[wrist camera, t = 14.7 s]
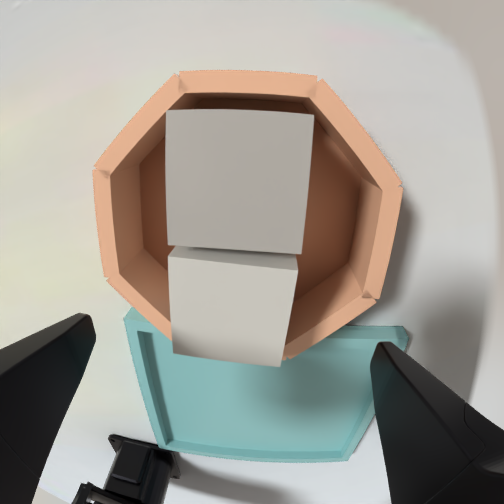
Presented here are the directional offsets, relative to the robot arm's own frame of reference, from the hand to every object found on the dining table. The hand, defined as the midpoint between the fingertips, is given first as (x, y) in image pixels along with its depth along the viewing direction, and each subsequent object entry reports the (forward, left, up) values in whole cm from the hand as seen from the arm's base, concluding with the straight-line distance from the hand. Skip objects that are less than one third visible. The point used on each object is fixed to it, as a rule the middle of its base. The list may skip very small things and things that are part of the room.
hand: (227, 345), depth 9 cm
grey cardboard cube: (0, 0, -6) cm, 7 cm away
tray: (-11, -1, -7) cm, 13 cm away
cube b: (+4, 0, -6) cm, 8 cm away
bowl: (+2, 0, -7) cm, 7 cm away
